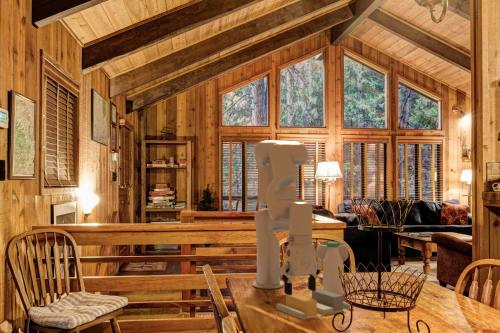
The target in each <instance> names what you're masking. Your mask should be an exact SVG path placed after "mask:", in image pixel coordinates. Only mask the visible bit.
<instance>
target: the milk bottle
mask: <svg viewBox="0 0 500 333" xmlns="http://www.w3.org/2000/svg"><path fill="white" fill-rule="evenodd" d="M339 243H340V242H337V241H327V254H326V256H325V259H324V262H322V263H323V264H322V275H323V279H322V290H326V291H329V292H332V293H336V294H339V295H342V296H344V294H345V292H344V291H345V290H344V291H343V288H342V285H341V281H340V278H339V273H338V267H340V268H341V269H342V270H343V272H344V270H345V269H344V262H342V259H341V257H340V254H339Z"/></svg>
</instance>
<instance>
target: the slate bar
mask: <svg viewBox="0 0 500 333" xmlns="http://www.w3.org/2000/svg"><path fill="white" fill-rule="evenodd" d="M311 298H312V299H315V300H317V303H320V304H323V305H326V306H329V307H332V308H333V309H334V311H338V310H343V301H344V295H339V294H336V293H332V292H329V291H326V290H323V288H320V289H316V291H312V290H311Z"/></svg>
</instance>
